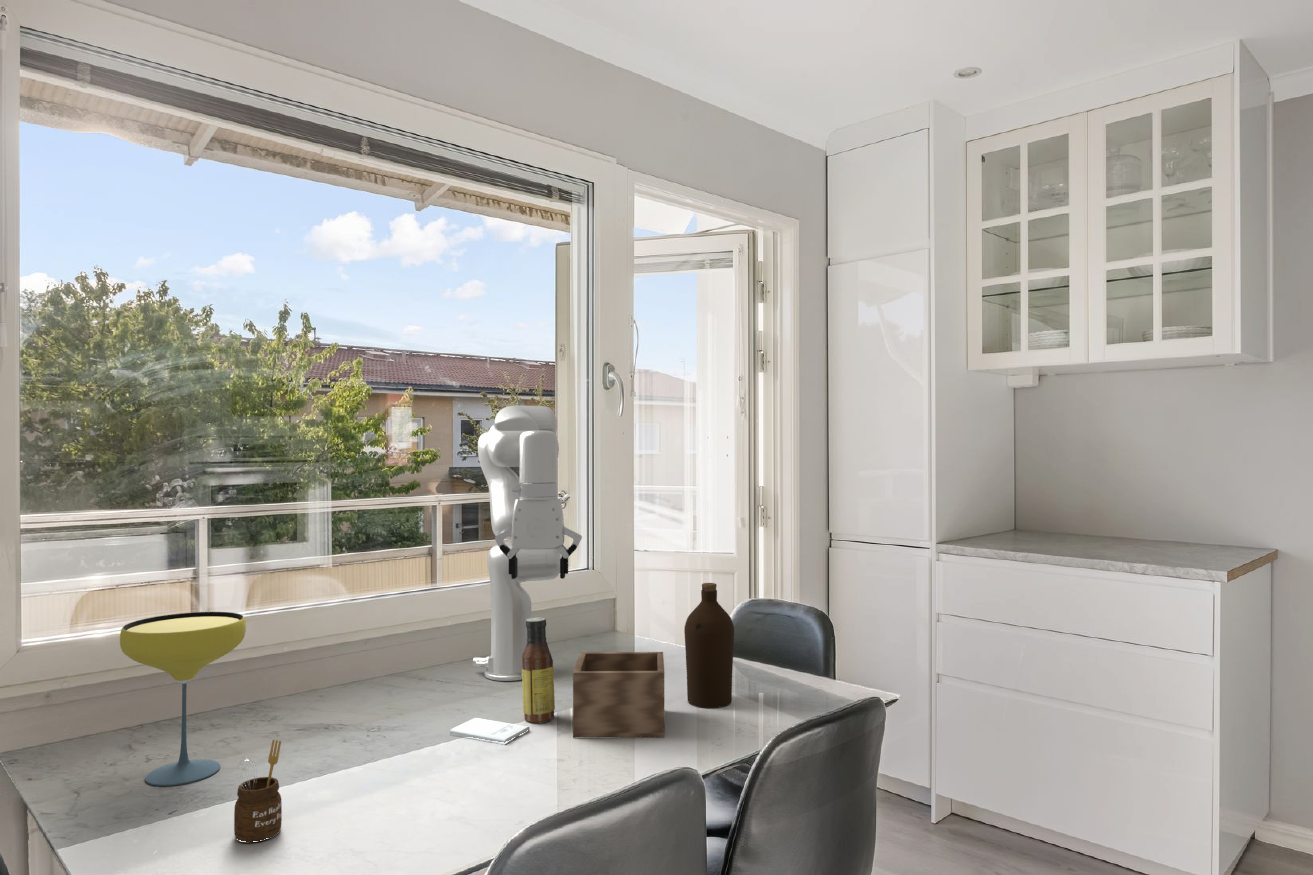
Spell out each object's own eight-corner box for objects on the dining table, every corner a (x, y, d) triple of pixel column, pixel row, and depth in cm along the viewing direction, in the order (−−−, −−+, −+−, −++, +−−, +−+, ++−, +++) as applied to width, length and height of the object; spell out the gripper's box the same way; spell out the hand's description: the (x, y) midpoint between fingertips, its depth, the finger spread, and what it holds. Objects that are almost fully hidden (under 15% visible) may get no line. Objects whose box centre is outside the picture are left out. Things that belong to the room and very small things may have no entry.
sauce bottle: (560, 715, 164) (560, 616, 165) (545, 725, 158) (545, 623, 159) (530, 712, 167) (531, 614, 167) (515, 722, 161) (516, 620, 161)
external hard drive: (476, 725, 161) (529, 733, 156) (449, 738, 153) (504, 747, 148) (476, 716, 161) (529, 725, 156) (449, 729, 153) (504, 738, 148)
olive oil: (736, 709, 168) (736, 587, 169) (685, 709, 168) (684, 587, 169) (732, 694, 179) (731, 579, 179) (684, 694, 179) (683, 580, 180)
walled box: (573, 737, 152) (573, 672, 152) (580, 710, 168) (580, 652, 168) (664, 737, 152) (664, 672, 152) (663, 710, 168) (663, 651, 168)
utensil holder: (223, 840, 111) (224, 752, 112) (261, 821, 117) (261, 737, 118) (256, 847, 109) (257, 757, 110) (292, 827, 115) (293, 742, 115)
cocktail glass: (164, 752, 144) (166, 611, 145) (265, 753, 144) (266, 611, 144) (90, 795, 126) (92, 633, 127) (205, 796, 126) (206, 633, 126)
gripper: (491, 493, 160) (491, 580, 159) (580, 492, 160) (580, 580, 159) (498, 491, 167) (498, 575, 167) (583, 491, 167) (583, 575, 167)
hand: (538, 577), depth 163 cm, fingers open, 9 cm apart
